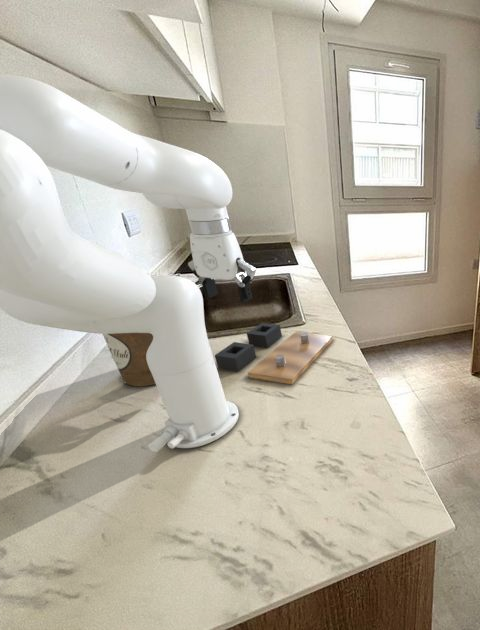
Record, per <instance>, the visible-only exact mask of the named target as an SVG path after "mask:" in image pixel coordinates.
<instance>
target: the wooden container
mask: <svg viewBox="0 0 480 630" xmlns="http://www.w3.org/2000/svg"><path fill="white" fill-rule="evenodd" d="M102 336H103V338H104V341H105V344H106V345H107V348H108V350H109V352H110V355H111V357H112V359H113V361H114V364H115V365H116V368H117V369H118V372H119V374H120V376H121V378H122V380H123V382H124V383H125V384H127V385H129V386H135V387H144V386H145V387H146V386H152V385H156V383H155V381H154V378H153V376H152V373H151V371H150V369H149V366H148V364H147V360H146V354H147V350H148V348H149V346H150V344H151V343H152V341H153V335H152V334H150V333H115V334H102Z"/></svg>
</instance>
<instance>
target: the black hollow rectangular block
mask: <svg viewBox="0 0 480 630" xmlns="http://www.w3.org/2000/svg"><path fill="white" fill-rule="evenodd" d="M256 358H257V354H256V350H255V346H254V345H252V344H249V343H245V342H236V341H233V342H232V343H230V344H229V345H227V346H226V347H225V348H223V349H222V350H221V351H219V352H217V353H216V354H215V355H214V360H215V363H216V367H217V368H218V369H217V370H224V371H230V372H237V373H239V372H241V371H242V370H243V369H244V368H245V367H246V366H248V365H249V364H250V363H251V362H252V361H254V360H255V359H256Z"/></svg>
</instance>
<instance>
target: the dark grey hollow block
mask: <svg viewBox="0 0 480 630" xmlns="http://www.w3.org/2000/svg"><path fill="white" fill-rule="evenodd" d="M246 337H247V341H248V344H252V345H254V347H259V348H265V349H269V348H270V347H271V346H273V345H274V343H276V342H278V340H280V339H281V338H282V337H283V335H282V329H281V325H280V324H275V323H268V322H261V323H259V324H258V325H256V326H255V327H253V328H252V329H251V330H249V331H247V332H246Z"/></svg>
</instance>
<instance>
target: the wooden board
mask: <svg viewBox="0 0 480 630" xmlns="http://www.w3.org/2000/svg"><path fill="white" fill-rule="evenodd" d="M333 341H334V339H333V336H332V335H325V334H318V333H310V332H308V331H307V332H306V331H305V332H304V331H295V332H293V333H292V334H291V335H290V336H289V337H287V338H286V339H285V340H284V341H282V343H280V344H279V345H278V346H277V347H276V348H275V349H273V350H272V351H271V352H269V354H268V355H266V356H265V357H264V358H263V359H262V360H260V361H259V362H258V363H257V364H255V366H253V368H251V369H250V370H248V371H247V376H248V378H250V379H256V380H261V381H269V382H275V383H282V384H288V385H294V383H296V381H297V380H298V379H299V378H300V377H301V375H303V374H304V372H305V371H306V370H307V369H308V368H309V367H310V366H311V365H312V364H313V362H315V361H316V359H317V358H318V357H319V356H320V355H321V354H322V353H323V352H324V351H325V350H326V349H327V348H328V346H330V344H331V343H332V342H333Z"/></svg>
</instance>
